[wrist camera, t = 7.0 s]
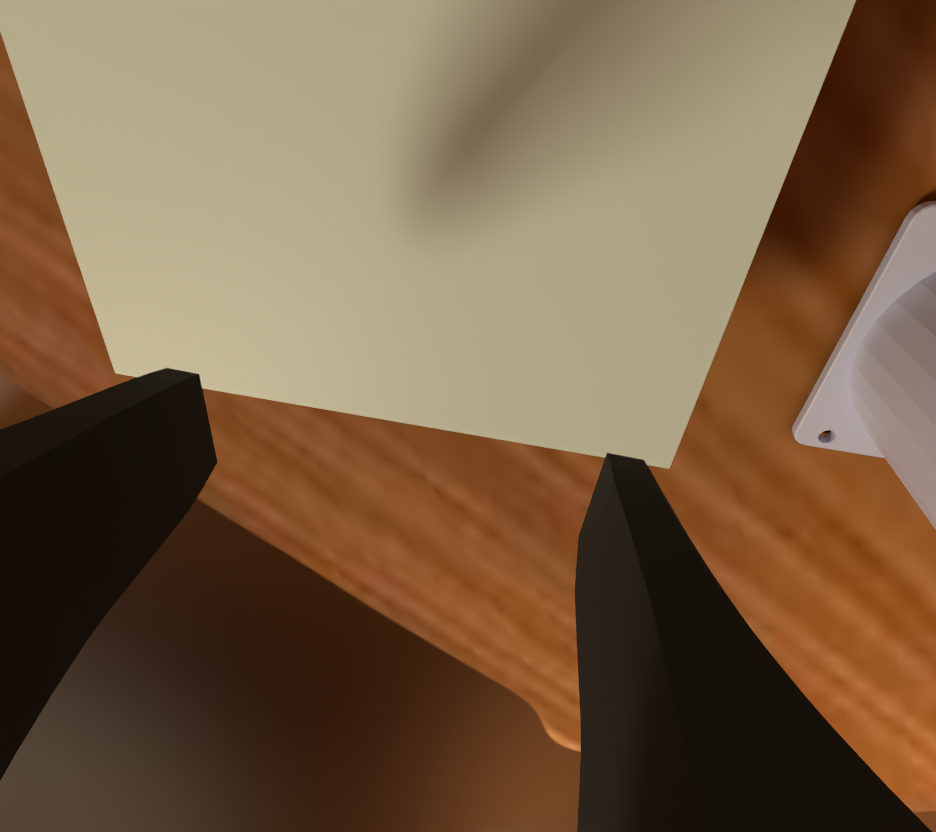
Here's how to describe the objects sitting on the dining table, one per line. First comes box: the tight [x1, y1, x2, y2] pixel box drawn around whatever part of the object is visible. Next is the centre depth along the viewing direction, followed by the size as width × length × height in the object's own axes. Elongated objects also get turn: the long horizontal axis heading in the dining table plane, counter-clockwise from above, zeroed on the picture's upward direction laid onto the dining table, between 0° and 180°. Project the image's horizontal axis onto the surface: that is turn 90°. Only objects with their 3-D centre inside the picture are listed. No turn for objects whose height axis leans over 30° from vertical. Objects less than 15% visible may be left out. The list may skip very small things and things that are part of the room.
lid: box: [0, 0, 856, 468], centre depth 10 cm, size 16×15×3 cm
